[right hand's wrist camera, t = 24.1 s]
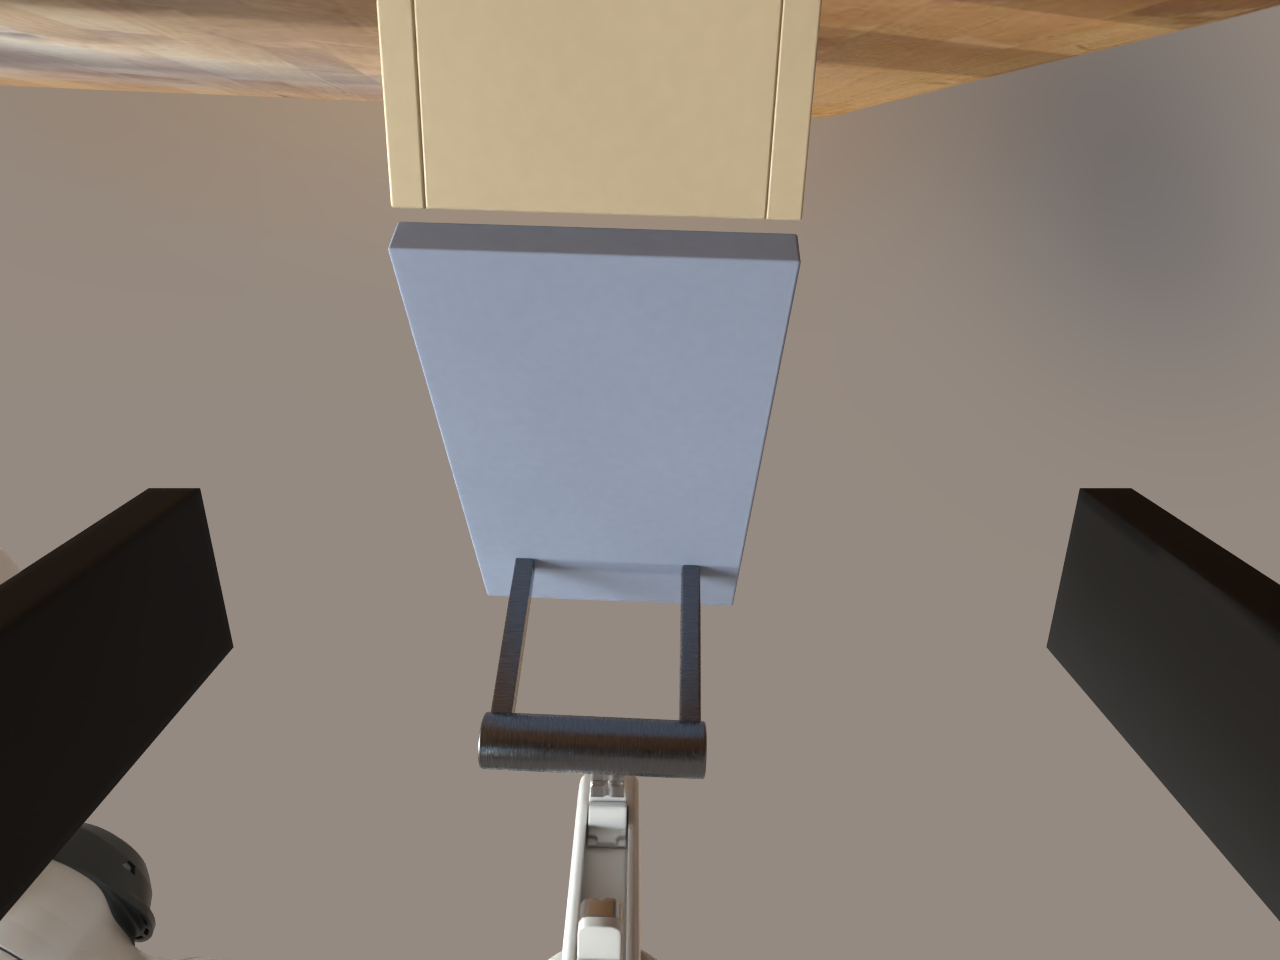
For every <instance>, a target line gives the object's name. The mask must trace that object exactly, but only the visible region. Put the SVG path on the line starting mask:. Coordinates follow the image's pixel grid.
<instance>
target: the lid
mask: <svg viewBox="0 0 1280 960" xmlns="http://www.w3.org/2000/svg"><path fill="white" fill-rule="evenodd" d="M388 250H389V254H390V257H391V261H392V264H393V268H394V271H395V275H396V278H397V282H398V285H399V288H400V292H401V295H402V299H403V302H404V306H405V309H406V313H407V316H408V320H409V323H410V327H411V330H412V334H413V337H414V340H415V344H416V347H417V351H418V354H419V358H420V361H421V365H422V368H423V372H424V375H425V379H426V382H427V385H428V389H429V392H430V396H431V400H432V403H433V407H434V410H435V413H436V417H437V420H438V424H439V427H440V431H441V434H442V438H443V441H444V445H445V448H446V452H447V455H448V459H449V462H450V466H451V469H452V472H453V476H454V479H455V483H456V486H457V490H458V493H459V497H460V500H461V504H462V507H463V511H464V514H465V517H466V521H467V524H468V528H469V531H470V535H471V538H472V542H473V545H474V549H475V552H476V556H477V559H478V563H479V566H480V570H481V573H482V577H483V580H484V583H485V587H486V590H487V594H488V595H490V596H509V603H508V609H507V615H506V621H505V627H504V634H503V640H502V646H501V652H500V659H499V665H498V671H497V677H496V683H495V690H494V696H493V702H492V708H491V712H487V713H485V715H484V717H483V720H482V723H481V728H480V733H479V742H478V761H479V766H480V768H482V769H492V770H514V771H536V772H558V773H580V774H601V775H623V776H645V777H667V778H689V779H704V777H705V772H706V752H707V735H706V724H705V722H703V721H701V653H700V651H701V644H700V604H709V605H732V604H733V600H734V595H735V590H736V585H737V580H738V575H739V570H740V565H741V560H742V555H743V550H744V545H745V540H746V535H747V530H748V525H749V520H750V515H751V510H752V505H753V500H754V495H755V489H756V484H757V479H758V474H759V469H760V464H761V459H762V454H763V449H764V444H765V439H766V434H767V429H768V424H769V419H770V414H771V409H772V404H773V399H774V394H775V389H776V384H777V379H778V374H779V369H780V364H781V359H782V353H783V349H784V343H785V338H786V333H787V328H788V323H789V318H790V313H791V308H792V303H793V298H794V293H795V288H796V283H797V278H798V273H799V268H800V263H801V261H800V253H799V245H798V237H797V235H796V234H775V233H743V232H711V231H679V230H646V229H615V228H582V227H550V226H519V225H487V224H455V223H423V222H398V224H397V226H396V229H395V232H394V234H393V237H392V240H391V242H390V245H389V248H388ZM531 597H540V598H563V599H588V600H612V601H636V602H660V603H681V616H680V687H679V720H661V719H638V718H616V717H593V716H570V715H548V714H524V713H515V708H516V701H517V694H518V687H519V680H520V673H521V665H522V659H523V652H524V645H525V637H526V631H527V623H528V616H529V610H530V602H531Z"/></svg>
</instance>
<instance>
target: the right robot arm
mask: <svg viewBox="0 0 1280 960" xmlns="http://www.w3.org/2000/svg"><path fill="white" fill-rule="evenodd" d="M232 648H233V643H232V638H231V633H230V629H229V624H228V619H227V614H226V609H225V605H224V600H223V595H222V590H221V586H220V581H219V576H218V571H217V567H216V562H215V557H214V552H213V548H212V543H211V538H210V533H209V528H208V524H207V519H206V514H205V509H204V505H203V500H202V495H201V490H200V488H149V489H147V490H145V491H144V492H142V493H141V494H139V495H138V496H136V497H135V498H133V499H132V500H130V501H128V502H127V503H125V504H124V505H122V506H121V507H119V508H118V509H116V510H115V511H113V512H112V513H110V514H108V515H107V516H105V517H104V518H102V519H101V520H99V521H98V522H96V523H95V524H93V525H91V526H90V527H88V528H87V529H85V530H84V531H82V532H81V533H79V534H78V535H76V536H75V537H73V538H71V539H70V540H68V541H67V542H65V543H64V544H62V545H61V546H59V547H58V548H56V549H55V550H53V551H52V552H50V553H48V554H47V555H45V556H44V557H42V558H41V559H39V560H38V561H36V562H35V563H33V564H31V565H30V566H28V567H27V568H25V569H24V570H22V571H21V572H19V573H18V574H16V575H14V576H13V577H11V578H10V579H8V580H7V581H5V582H4V583H2V584H1V585H0V921H1V920H2V918H3V917H4V916H5V915H6V914H7V913H8V911H9V910H10V909H11V908H12V907H13V906H14V904H15V903H16V902H17V901H18V900H19V899H20V897H21V896H22V895H23V894H24V893H25V891H26V890H27V889H28V888H29V887H30V886H31V884H32V883H33V882H34V881H35V880H36V879H37V877H38V876H39V875H40V874H41V873H42V871H43V870H44V869H45V868H46V867H47V866H48V864H49V863H50V862H51V861H52V860H53V859H54V857H55V856H56V855H57V854H58V853H59V852H60V850H61V849H62V848H63V847H64V846H65V844H66V843H67V842H68V841H69V840H70V839H71V837H72V836H73V835H74V834H75V833H76V832H77V830H78V829H79V828H80V827H81V826H82V824H83V823H84V822H85V821H86V820H87V818H88V817H89V816H90V815H91V814H92V813H93V811H94V810H95V809H96V808H97V807H98V806H99V804H100V803H101V802H102V801H103V800H104V799H105V797H106V796H107V795H108V794H109V793H110V791H111V790H112V789H113V788H114V787H115V786H116V785H117V783H118V782H119V781H120V780H121V779H122V777H123V776H124V775H125V774H126V773H127V772H128V770H129V769H130V768H131V767H132V766H133V765H134V763H135V762H136V761H137V760H138V759H139V758H140V756H141V755H142V754H143V753H144V752H145V750H146V749H147V748H148V747H149V746H150V745H151V743H152V742H153V741H154V740H155V739H156V738H157V736H158V735H159V734H160V733H161V732H162V730H163V729H164V728H165V727H166V726H167V725H168V723H169V722H170V721H171V720H172V719H173V718H174V716H175V715H176V714H177V713H178V712H179V710H180V709H181V708H182V707H183V706H184V705H185V703H186V702H187V701H188V700H189V699H190V698H191V696H192V695H193V694H194V693H195V692H196V690H197V689H198V688H199V687H200V686H201V685H202V683H203V682H204V681H205V680H206V679H207V678H208V676H209V675H210V674H211V673H212V672H213V670H214V669H215V668H216V667H217V666H218V665H219V663H220V662H221V661H222V660H223V659H224V658H225V656H226V655H227V654H228V653H229V652H230V651H231V649H232ZM1047 648H1048V649H1049V651H1050V652H1051V653H1052V654H1053V655H1054V656H1055V658H1056V659H1057V660H1058V661H1059V662H1060V663H1061V665H1062V666H1063V667H1064V668H1065V669H1066V671H1067V672H1068V673H1069V674H1070V675H1071V676H1072V678H1073V679H1074V680H1075V681H1076V682H1077V683H1078V685H1079V686H1080V687H1081V688H1082V689H1083V691H1084V692H1085V693H1086V694H1087V695H1088V696H1089V698H1090V699H1091V700H1092V701H1093V702H1094V703H1095V705H1096V706H1097V707H1098V708H1099V709H1100V710H1101V712H1102V713H1103V714H1104V715H1105V716H1106V718H1107V719H1108V720H1109V721H1110V722H1111V723H1112V725H1113V726H1114V727H1115V728H1116V729H1117V730H1118V732H1119V733H1120V734H1121V735H1122V736H1123V738H1124V739H1125V740H1126V741H1127V742H1128V743H1129V745H1130V746H1131V747H1132V748H1133V749H1134V750H1135V752H1136V753H1137V754H1138V755H1139V756H1140V758H1141V759H1142V760H1143V761H1144V762H1145V763H1146V765H1147V766H1148V767H1149V768H1150V769H1151V770H1152V772H1153V773H1154V774H1155V775H1156V776H1157V777H1158V779H1159V780H1160V781H1161V782H1162V783H1163V785H1164V786H1165V787H1166V788H1167V789H1168V790H1169V792H1170V793H1171V794H1172V795H1173V796H1174V797H1175V799H1176V800H1177V801H1178V802H1179V803H1180V805H1181V806H1182V807H1183V808H1184V809H1185V810H1186V812H1187V813H1188V814H1189V815H1190V816H1191V817H1192V819H1193V820H1194V821H1195V822H1196V823H1197V824H1198V826H1199V827H1200V828H1201V829H1202V830H1203V832H1204V833H1205V834H1206V835H1207V836H1208V837H1209V839H1210V840H1211V841H1212V842H1213V843H1214V844H1215V846H1216V847H1217V848H1218V849H1219V850H1220V851H1221V853H1222V854H1223V855H1224V856H1225V857H1226V859H1227V860H1228V861H1229V862H1230V863H1231V864H1232V866H1233V867H1234V868H1235V869H1236V870H1237V871H1238V873H1239V874H1240V875H1241V876H1242V877H1243V878H1244V880H1245V881H1246V882H1247V883H1248V884H1249V886H1250V887H1251V888H1252V889H1253V890H1254V891H1255V893H1256V894H1257V895H1258V896H1259V897H1260V899H1261V900H1262V901H1263V902H1264V903H1265V904H1266V906H1267V907H1268V908H1269V909H1270V910H1271V911H1272V913H1273V914H1274V915H1275V916H1276V917H1277V918H1278V920H1279V921H1280V585H1279V584H1278V583H1276V582H1275V581H1273V580H1272V579H1270V578H1269V577H1267V576H1265V575H1264V574H1262V573H1261V572H1259V571H1258V570H1256V569H1255V568H1253V567H1252V566H1250V565H1249V564H1247V563H1245V562H1244V561H1242V560H1241V559H1239V558H1238V557H1236V556H1235V555H1233V554H1232V553H1230V552H1229V551H1227V550H1225V549H1224V548H1222V547H1221V546H1219V545H1218V544H1216V543H1215V542H1213V541H1212V540H1210V539H1209V538H1207V537H1205V536H1204V535H1202V534H1201V533H1199V532H1198V531H1196V530H1195V529H1193V528H1192V527H1190V526H1188V525H1187V524H1185V523H1184V522H1182V521H1181V520H1179V519H1178V518H1176V517H1175V516H1173V515H1172V514H1170V513H1168V512H1167V511H1165V510H1164V509H1162V508H1161V507H1159V506H1158V505H1156V504H1155V503H1153V502H1152V501H1150V500H1148V499H1147V498H1145V497H1144V496H1142V495H1141V494H1139V493H1138V492H1136V491H1135V490H1133V489H1132V488H1080V490H1079V495H1078V500H1077V505H1076V510H1075V514H1074V519H1073V524H1072V529H1071V533H1070V538H1069V543H1068V548H1067V552H1066V557H1065V562H1064V567H1063V571H1062V576H1061V581H1060V586H1059V590H1058V595H1057V600H1056V605H1055V610H1054V614H1053V619H1052V624H1051V629H1050V633H1049V638H1048V643H1047Z"/></svg>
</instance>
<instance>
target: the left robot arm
mask: <svg viewBox="0 0 1280 960" xmlns="http://www.w3.org/2000/svg"><path fill="white" fill-rule="evenodd" d="M19 572H21V570H20V568H19V566H18V565H17V563H16V562H15V561H14V560H13V558H12V557H11V556H10V555H9V554H8V553H7V552H6V551H5V550H4V549H3V548H2V547H1V546H0V585H1V584H2V583H4V582H5V581H7V580H8V579H10V578H11V577H13V576H14V575H16V574H18V573H19ZM151 898H152V889H151V883H150V878H149V874H148V870H147V867H146V865H145V863H144V861H143V859H142V858H141V857H140V855H139V854H138V853H137V852H136V851H135V850H134V849H133V848H132V847H131V846H130V845H129V844H128V843H127V842H125V841H124V840H123V839H122V838H120V837H119V836H117V835H115V834H113V833H111V832H109V831H106V830H104V829H102V828H100V827H97V826H94V825H91V824H87V823H83V824H82V826H81V827H80V828H79V829H78V830H77V832H76V833H75V834H74V835H73V836H72V837H71V839H70V840H69V841H68V842H67V843H66V844H65V846H64V847H63V848H62V849H61V850H60V852H59V853H58V854H57V855H56V856H55V857H54V859H53V860H52V861H51V862H50V863H49V864H48V866H47V867H46V868H45V869H44V870H43V871H42V873H41V874H40V875H39V876H38V877H37V879H36V880H35V881H34V882H33V883H32V884H31V886H30V887H29V888H28V889H27V890H26V891H25V893H24V894H23V895H22V896H21V897H20V899H19V900H18V901H17V902H16V903H15V904H14V906H13V907H12V908H11V909H10V910H9V911H8V913H7V914H6V915H5V916H4V917H3V918H2V920H1V921H0V960H233V959H225V958H201V957H177V958H161V957H154V956H150V955H148V954H145V953H143V952H142V951H140V950H139V949H137V948H136V947H135V942H143V941H146V940H148V939H149V938H151V936H152V934H153V931H154V928H155V918H154V915H153V913H152V912H151V910H150V905H151ZM640 942H641V940H640V786H639V781H638V779H637V777H636V776H623V775H601V774H585V775H584V776H583V777H582V779H581V781H580V785H579V792H578V801H577V811H576V821H575V831H574V841H573V851H572V861H571V871H570V881H569V891H568V901H567V911H566V921H565V931H564V941H563V951H561V952H559V953H558V954H556V955H554V956H553V957H552V958H550V959H549V960H656V959H655V958H654V957H652V956H651V955H649V954H648V953H646V952H645V951H643V950H641V943H640Z"/></svg>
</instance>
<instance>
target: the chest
mask: <svg viewBox="0 0 1280 960" xmlns="http://www.w3.org/2000/svg"><path fill="white" fill-rule="evenodd" d="M376 1H377V15H378V29H379V43H380V57H381V71H382V85H383V99H384V112H385V126H386V140H387V154H388V168H389V182H390V196H391V205H392V207H394V208H417V209H425V208H428V209H449V210H481V211H513V212H546V213H579V214H611V215H643V216H675V217H676V216H677V217H709V218H741V219H772V220H801V219H802V210H803V199H804V189H805V178H806V167H807V156H808V145H809V134H810V123H811V112H812V101H813V90H814V79H815V69H816V58H817V47H818V36H819V25H820V14H821V3H822V0H376Z"/></svg>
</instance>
